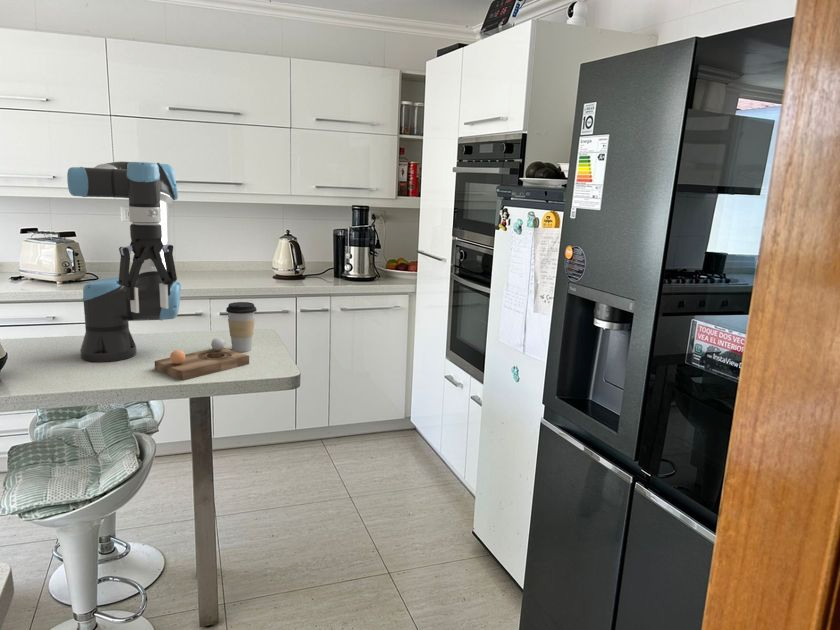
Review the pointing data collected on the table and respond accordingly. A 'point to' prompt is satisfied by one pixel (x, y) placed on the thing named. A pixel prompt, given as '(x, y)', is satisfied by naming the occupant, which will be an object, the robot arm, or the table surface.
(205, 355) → the brown wooden board
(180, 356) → the ball
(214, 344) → the grey ball
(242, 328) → the coffee cup
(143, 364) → the table surface
